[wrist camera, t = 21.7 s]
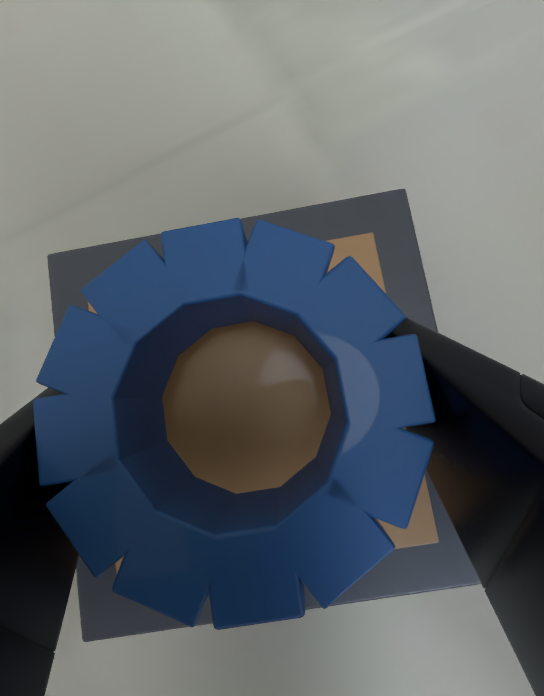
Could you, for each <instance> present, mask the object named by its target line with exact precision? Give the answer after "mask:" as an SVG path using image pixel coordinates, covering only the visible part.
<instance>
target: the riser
mask: <svg viewBox="0 0 544 696" xmlns="http://www.w3.org/2000/svg"><path fill="white" fill-rule="evenodd" d="M258 219H260V220H263V221H266V222H269V223H272V224H275V225H278V226H281V227H284V228H287V229H290V230H293V231H296V232H299V233H302V234H305V235H309V236H312V237H315V238H318V239H321V240H324V241H327V242H330V243H332V244H334V245H335V249H334V253H333V256H332V259H331V262H330V266H329V269H328V272H329V271H330V270H331V269H332V268H334V267H335V266H336V265H337V264H338V263H340V262H341V261H342V260H343V259H345V258H346V257H348V256H351V257H353V258H354V259H355V260H356V261H357V263H358V264H359V265H360V266H361V267H362V268H363V269H364V270H365V271H366V272H367V274H368V275H369V276H370V277H371V278H372V279H373V280H374V281H375V282H376V283H377V285H378V286H379V287H380V288H381V289H382V290H383V291H384V292H385V293H386V294H387V296H388V297H389V298H390V299H391V300H392V301H393V302H394V303H395V304H396V305H397V307H398V308H399V309H400V310H401V311H402V312H403V313H404V314H405V317H407V318H409V319H411V320H413V321H415V322H417V323H419V324H421V325H423V326H425V327H427V328H429V329H431V330H433V331H435V332H437V333H438V330H437V326H436V321H435V317H434V313H433V308H432V304H431V300H430V295H429V291H428V286H427V282H426V278H425V273H424V269H423V264H422V260H421V256H420V251H419V247H418V243H417V238H416V234H415V229H414V225H413V221H412V216H411V212H410V208H409V203H408V199H407V194H406V190H405V189H399V190H393V191H388V192H382V193H377V194H372V195H366V196H361V197H356V198H350V199H345V200H339V201H334V202H329V203H323V204H318V205H312V206H307V207H302V208H296V209H291V210H285V211H280V212H275V213H269V214H264V215H259V216H253V217H248V218H242V219H240V220H241V221H242V224H243V228H244V231H245V235H246V238H247V242H248V240H249V238H250V235H251V233H252V230H253V227H254V225H255V222H256V221H257V220H258ZM142 240H147V241H148V242H149V243H150V245H151V246H152V247H153V248H154V249H155V250H156V251H157V252H158V253H159V254H160V255H161V256H162V257H163V258H164V256H163V249H162V241H161V234H156V235H151V236H145V237H140V238H135V239H129V240H124V241H118V242H113V243H108V244H102V245H97V246H92V247H86V248H81V249H75V250H70V251H65V252H59V253H54V254H49V255H48V268H49V279H50V290H51V300H52V311H53V322H54V333H55V336H56V334H57V332H58V329H59V327H60V325H61V322H62V320H63V318H64V316H65V313H66V311H67V309H68V307H69V306H70V305H75V306H77V307H80V308H83V309H85V310H88V311H91V312H93V313H96V314H97V312H96V311H95V310H94V308H93V307H92V306H91V304H90V303H89V302H88V300H87V299H86V298H85V297H84V295H83V294H82V293H81V289H82V288H83V287H85V286H86V285H87V284H88V283H90V282H91V281H92V280H93V279H95V278H96V277H97V276H98V275H100V274H101V273H102V272H103V271H105V270H106V269H107V268H108V267H110V266H111V265H112V264H113V263H115V262H116V261H117V260H118V259H120V258H121V257H122V256H123V255H125V254H126V253H127V252H128V251H130V250H131V249H132V248H134V247H135V246H136V245H137V244H139V243H140V242H141V241H142ZM328 272H327V273H328ZM162 401H163V409H164V417H165V425H166V433H167V440H168V442H169V443H170V444H171V446H172V447H173V448H174V450H175V451H176V452H177V454H178V455H179V456H180V458H181V459H182V460H183V462H184V463H185V464H186V466H187V467H188V468H189V470H190V471H191V472H192V474H193V475H194V476H195V477H197V478H199V479H202V480H204V481H206V482H209V483H211V484H214V485H216V486H219V487H221V488H224V489H226V490H228V491H231V492H233V493H236V494H238V493H245V492H251V491H257V490H263V489H270V488H276V487H281V486H282V485H283V484H284V483H285V482H286V481H288V480H289V479H290V478H291V477H292V476H294V475H295V474H296V473H297V472H298V471H299V470H301V469H302V468H303V467H304V466H305V465H307V464H308V463H309V462H310V461H311V460H312V459H314V458H315V457H316V455H317V452H318V449H319V447H320V444H321V441H322V438H323V435H324V432H325V430H326V427H327V424H328V421H329V418H330V415H331V411H330V406H329V400H328V395H327V389H326V384H325V379H324V373H323V369H322V368H321V366H320V365H319V364H318V363H317V362H316V361H315V359H314V358H313V357H312V356H311V355H310V354H309V352H308V351H307V350H306V349H305V348H304V346H303V345H302V344H301V343H300V342H299V341H298V339H297V338H296V337H295V336H293V335H291V334H288V333H285V332H282V331H280V330H277V329H274V328H271V327H268V326H266V325H263V324H260V323H257V322H255V321H252V322H247V323H241V324H235V325H230V326H224V327H218V328H213V329H211V330H210V331H209V332H207V333H206V334H205V335H204V336H202V337H201V338H200V339H199V340H198V341H196V342H195V343H194V344H193V345H191V346H190V347H189V348H188V349H187V350H185V351H184V352H183V353H182V354H180V355H179V356H178V358H177V361H176V363H175V366H174V368H173V371H172V373H171V376H170V378H169V381H168V383H167V386H166V388H165V391H164V393H163V396H162ZM404 429H406V428H405V427H404ZM378 521H379V522H380V524H381V525H382V526H383V528H384V529H385V531H386V532H387V534H388V535H389V537H390V538H391V540H392V541H393V543H394V544H395V549H394V550H393V551H392V552H390V553H389V554H388V555H387V556H386V557H385V558H384V559H382V560H381V561H380V562H379V563H378V564H377V565H375V566H374V567H373V568H372V569H371V570H370V571H369V572H367V573H366V574H365V575H364V576H363V577H362V578H360V579H359V580H358V581H357V582H356V583H355V584H354V585H352V586H351V587H350V588H349V589H348V590H347V591H345V592H344V593H343V594H342V595H341V596H340V597H339V598H337V599H336V600H335V601H334V602H333V603H332V604H330V605H329V606H334V605H340V604H347V603H354V602H361V601H368V600H375V599H381V598H388V597H395V596H402V595H409V594H415V593H422V592H429V591H436V590H443V589H450V588H456V587H463V586H470V585H477V584H481V582H480V580H479V577H478V575H477V573H476V571H475V569H474V567H473V565H472V563H471V561H470V559H469V557H468V555H467V553H466V551H465V549H464V547H463V545H462V543H461V541H460V538H459V536H458V534H457V532H456V530H455V528H454V526H453V524H452V522H451V520H450V518H449V516H448V514H447V512H446V510H445V508H444V506H443V504H442V502H441V499H440V497H439V495H438V493H437V491H436V489H435V487H434V485H433V483H432V481H431V479H430V477H429V475H428V473H427V471H425V474H424V477H423V480H422V484H421V487H420V490H419V493H418V496H417V499H416V502H415V505H414V509H413V512H412V515H411V518H410V521H409V524H408V527H407V528H406V529H401V528H399V527H396V526H394V525H391V524H389V523H386V522H384V521H381V520H379V519H378ZM123 558H124V556H123V557H122V558H121V559H120V560H119V561H117V562H116V563H115V564H114V565H113V566H111V567H110V568H109V569H108V570H107V571H105V572H104V573H103V574H102V575H101V576H99V577H97V578H95V577H94V576H93V575H92V573H91V572H90V570H89V569H88V567H87V566H86V564H85V563H84V561H83V560H82V558H81V557H80V555H79V557H78V561H77V565H76V573H77V584H78V595H79V606H80V617H81V628H82V639H83V641H84V642H88V641H95V640H102V639H109V638H116V637H122V636H129V635H136V634H143V633H150V632H156V631H163V630H170V629H177V628H184V627H189V626H187V625H185V624H183V623H180V622H178V621H176V620H174V619H172V618H169V617H167V616H165V615H163V614H161V613H158V612H156V611H154V610H152V609H150V608H147V607H145V606H143V605H141V604H139V603H136V602H134V601H132V600H130V599H127V598H125V597H123V596H121V595H119V594H116V593H114V592H113V591H112V586H113V583H114V580H115V578H116V575H117V573H118V570H119V568H120V565H121V563H122V560H123ZM304 591H305V605H306V609H313V608H320V607H321V605H320V604H319V603H318V601H317V600H316V599H315V597H314V596H313V595H312V594H311V592H310V591H309V590H308V588H307V587H306V586H305V584H304ZM211 623H213V621H212V614H211V606H210V599H209V595H208V597H207V600H206V602H205V605H204V607H203V610H202V612H201V615H200V617H199V619H198V622H197V624H196V625H195V626H197V625H204V624H211Z"/></svg>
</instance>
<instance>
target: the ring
mask: <svg viewBox="0 0 544 696" xmlns="http://www.w3.org/2000/svg"><path fill="white" fill-rule="evenodd" d="M161 241H162V249H163V256H164V258H163V257H162V256H161V255H160V254H159V253H158V252H157V251H156V250H155V249H154V248H153V247H152V246H151V245H150V243H149V242H148V241H147V240H142V241H141V242H140V243H139V244H137V245H136V246H135V247H134V248H132V249H131V250H130V251H128V252H127V253H126V254H125V255H123V256H122V257H121V258H120V259H118V260H117V261H116V262H115V263H113V264H112V265H111V266H110V267H108V268H107V269H106V270H105V271H103V272H102V273H101V274H100V275H98V276H97V277H96V278H95V279H93V280H92V281H91V282H90V283H88V284H87V285H86V286H85V287H83V288H82V289H81V293H82V294H83V295H84V297H85V298H86V299H87V300H88V302H89V303H90V304H91V306H92V307H93V308H94V310H95V311H96V312H97V314H96V313H93V312H91V311H88V310H85V309H83V308H80V307H77V306H75V305H70V306H69V307H68V309H67V311H66V313H65V316H64V318H63V320H62V322H61V325H60V327H59V329H58V332H57V334H56V336H55V338H54V341H53V343H52V345H51V348H50V350H49V352H48V354H47V357H46V359H45V361H44V364H43V366H42V368H41V370H40V373H39V375H38V377H37V380H36V381H37V382H38V383H39V384H41V385H44V386H46V387H49V388H51V389H54V390H56V391H59V392H61V393H64V394H60V395H54V396H48V397H42V398H37V399H35V400H34V401H33V411H34V424H35V436H36V449H37V462H38V474H39V484H40V486H49V485H56V484H62V483H68V482H71V483H70V484H69V485H68V486H66V487H65V488H64V489H63V490H62V491H60V492H59V493H58V494H57V495H56V496H54V497H53V498H52V499H51V500H49V501H48V502H47V504H46V507H47V508H48V510H49V511H50V513H51V514H52V516H53V517H54V519H55V520H56V521H57V523H58V524H59V526H60V527H61V529H62V530H63V532H64V533H65V535H66V536H67V538H68V539H69V541H70V542H71V544H72V545H73V547H74V548H75V549H76V551H77V552H78V554H79V555H80V557H81V558H82V560H83V561H84V563H85V564H86V566H87V567H88V569H89V570H90V572H91V573H92V575H93V576H94V577H95V578H97V577H99V576H101V575H102V574H103V573H104V572H105V571H107V570H108V569H109V568H110V567H111V566H113V565H114V564H115V563H116V562H117V561H119V560H120V559H121V558H122V557H123V556H124V558H123V560H122V563H121V565H120V568H119V570H118V573H117V575H116V578H115V580H114V583H113V586H112V591H113V592H114V593H116V594H119V595H121V596H123V597H125V598H127V599H130V600H132V601H134V602H136V603H139V604H141V605H143V606H145V607H147V608H150V609H152V610H154V611H156V612H158V613H161V614H163V615H165V616H167V617H169V618H172V619H174V620H176V621H178V622H180V623H183V624H185V625H187V626H189V627H194V626H195V625H196V624H197V622H198V619H199V617H200V615H201V612H202V610H203V607H204V605H205V602H206V600H207V597H208V595H209V599H210V606H211V614H212V621H213V626H214V628H215V629H217V630H220V629H227V628H234V627H240V626H247V625H254V624H261V623H267V622H274V621H281V620H288V619H295V618H301V617H303V616H304V615H305V611H306V605H305V591H304V584H305V586H306V587H307V588H308V590H309V591H310V592H311V594H312V595H313V596H314V597H315V599H316V600H317V601H318V603H319V604H320V605H321V607H322V608H324V609H325V608H327V607H328V606H329V605H330V604H332V603H333V602H334V601H335V600H336V599H337V598H339V597H340V596H341V595H342V594H343V593H344V592H345V591H347V590H348V589H349V588H350V587H351V586H352V585H354V584H355V583H356V582H357V581H358V580H359V579H360V578H362V577H363V576H364V575H365V574H366V573H367V572H369V571H370V570H371V569H372V568H373V567H374V566H375V565H377V564H378V563H379V562H380V561H381V560H382V559H384V558H385V557H386V556H387V555H388V554H389V553H390V552H392V551H393V550H394V549H395V544H394V543H393V541H392V540H391V538H390V537H389V535H388V534H387V532H386V531H385V529H384V528H383V526H382V525H381V524H380V522H379V521H378V519H379V520H381V521H384V522H386V523H389V524H391V525H394V526H396V527H399V528H401V529H406V528H407V527H408V524H409V521H410V518H411V515H412V512H413V509H414V505H415V502H416V499H417V496H418V493H419V490H420V487H421V484H422V480H423V477H424V474H425V471H426V468H427V465H428V462H429V459H430V455H431V452H432V449H433V446H434V441H433V440H432V439H430V438H428V437H425V436H422V435H420V434H417V433H414V432H412V431H409V430H406V429H404V427H411V426H417V425H423V424H429V423H433V422H435V420H436V418H435V414H434V409H433V405H432V400H431V396H430V391H429V387H428V382H427V378H426V373H425V369H424V364H423V360H422V355H421V351H420V346H419V342H418V337H417V335H416V334H409V335H403V336H397V337H391V338H385V337H386V336H387V335H388V334H390V333H391V332H392V331H393V330H394V329H396V328H397V327H398V326H399V325H400V324H402V323H403V322H404V320H405V318H406V317H405V314H404V313H403V312H402V311H401V310H400V309H399V308H398V307H397V305H396V304H395V303H394V302H393V301H392V300H391V299H390V298H389V297H388V296H387V294H386V293H385V292H384V291H383V290H382V289H381V288H380V287H379V286H378V285H377V283H376V282H375V281H374V280H373V279H372V278H371V277H370V276H369V275H368V274H367V272H366V271H365V270H364V269H363V268H362V267H361V266H360V265H359V264H358V263H357V261H356V260H355V259H354V258H353V257H351V256H348V257H346V258H345V259H343V260H342V261H341V262H340V263H338V264H337V265H336V266H335V267H334V268H332V269H331V270H330V271H329V272H328V269H329V266H330V262H331V259H332V256H333V253H334V249H335V245H334V244H332V243H330V242H327V241H324V240H321V239H318V238H315V237H312V236H309V235H305V234H302V233H299V232H296V231H293V230H290V229H287V228H284V227H281V226H278V225H275V224H272V223H269V222H266V221H263V220H260V219H258V220H257V221H256V222H255V225H254V227H253V230H252V233H251V235H250V238H249V240H248V242H247V238H246V235H245V231H244V228H243V224H242V221H241V220H240V219H239V218H234V219H229V220H224V221H218V222H213V223H208V224H202V225H197V226H191V227H186V228H181V229H175V230H170V231H164V232H162V233H161ZM327 272H328V273H327ZM252 321H255V322H257V323H260V324H263V325H266V326H268V327H271V328H274V329H277V330H280V331H282V332H285V333H288V334H291V335H293V336H295V337H296V338H297V339H298V341H299V342H300V343H301V344H302V345H303V346H304V348H305V349H306V350H307V351H308V352H309V354H310V355H311V356H312V357H313V358H314V359H315V361H316V362H317V363H318V364H319V365H320V366H321V368H322V369H323V373H324V379H325V384H326V389H327V395H328V400H329V406H330V411H331V415H330V418H329V421H328V424H327V427H326V430H325V432H324V435H323V438H322V441H321V444H320V447H319V449H318V452H317V455H316V457H315V458H314V459H312V460H311V461H310V462H309V463H308V464H307V465H305V466H304V467H303V468H302V469H301V470H299V471H298V472H297V473H296V474H295V475H294V476H292V477H291V478H290V479H289V480H288V481H286V482H285V483H284V484H283V485H282V486H281V487H276V488H270V489H263V490H257V491H251V492H245V493H238V494H236V493H233V492H231V491H228V490H226V489H224V488H221V487H219V486H216V485H214V484H211V483H209V482H206V481H204V480H202V479H199V478H197V477H195V476H194V475H193V474H192V472H191V471H190V470H189V468H188V467H187V466H186V464H185V463H184V462H183V460H182V459H181V458H180V456H179V455H178V454H177V452H176V451H175V450H174V448H173V447H172V446H171V444H170V443H169V442H168V440H167V433H166V425H165V417H164V409H163V401H162V396H163V393H164V391H165V388H166V386H167V383H168V381H169V378H170V376H171V373H172V371H173V368H174V366H175V363H176V361H177V358H178V356H179V355H180V354H182V353H183V352H184V351H185V350H187V349H188V348H189V347H190V346H191V345H193V344H194V343H195V342H196V341H198V340H199V339H200V338H201V337H202V336H204V335H205V334H206V333H207V332H209V331H210V330H211V329H213V328H218V327H224V326H230V325H235V324H241V323H247V322H252ZM384 338H385V339H384Z"/></svg>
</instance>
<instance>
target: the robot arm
mask: <svg viewBox="0 0 544 696" xmlns="http://www.w3.org/2000/svg"><path fill="white" fill-rule="evenodd" d="M409 334H416V335H417V337H418V342H419V346H420V351H421V355H422V360H423V364H424V369H425V373H426V378H427V382H428V387H429V391H430V396H431V400H432V405H433V409H434V414H435V418H436V420H435V422H433V423H429V424H423V425H417V426H411V427H405V428H406V430H409V431H412V432H414V433H417V434H420V435H422V436H425V437H428V438H430V439H432V440H433V441H434V446H433V449H432V452H431V455H430V459H429V462H428V465H427V468H426V471H427V473H428V475H429V477H430V479H431V481H432V483H433V485H434V487H435V489H436V491H437V493H438V495H439V497H440V499H441V502H442V504H443V506H444V508H445V510H446V512H447V514H448V516H449V518H450V520H451V522H452V524H453V526H454V528H455V530H456V532H457V534H458V536H459V538H460V541H461V543H462V545H463V547H464V549H465V551H466V553H467V555H468V557H469V559H470V561H471V563H472V565H473V567H474V569H475V571H476V573H477V575H478V577H479V580H480V582H481V584H482V586H483V587H484V588H486V589H485V592H486V594H487V596H488V598H489V601H490V603H491V605H492V607H493V609H494V611H495V613H496V615H497V617H498V619H499V621H500V623H501V625H502V627H503V629H504V631H505V633H506V635H507V638H508V640H509V642H510V644H511V646H512V648H513V650H514V652H515V654H516V656H517V658H518V660H519V662H520V664H521V666H522V668H523V670H524V672H525V675H526V677H527V679H528V681H529V683H530V685H531V687H532V689H533V691H534V693H535V695H536V696H544V384H542V383H540V382H538V381H536V380H534V379H532V378H530V377H528V376H526V375H524V374H522V375H520V373H519V372H517V371H515V370H513V369H511V368H509V367H507V366H505V365H503V364H501V363H499V362H497V361H495V360H493V359H491V358H489V357H487V356H485V355H483V354H480V353H478V352H476V351H474V350H472V349H470V348H468V347H466V346H464V345H462V344H460V343H458V342H456V341H454V340H452V339H450V338H448V337H446V336H444V335H442V334H439V333H437V332H435V331H433V330H431V329H429V328H427V327H425V326H423V325H421V324H419V323H417V322H415V321H413V320H411V319H409V318H407V317H406V318H405V320H404V322H403V323H402V324H400V325H399V326H398V327H397V328H396V329H394V330H393V331H392V332H391V333H390V334H388V335H387V336H386V337H385V338H391V337H397V336H403V335H409ZM385 338H384V339H385ZM60 394H64V393H61V392H59V391H56V390H54V389H51V388H47V389H46V390H45V391H43V392H42V393H41V394H39V395H38V396H37V397H35V398H34V399H33V400H32V401H30V402H29V403H28V404H26V405H25V406H24V407H22V408H21V409H20V410H18V411H17V412H16V413H14V414H13V415H12V416H11V417H9V418H8V419H7V420H5V421H4V422H3V423H1V424H0V696H44V695H45V691H46V687H47V683H48V679H49V675H50V671H51V667H52V663H53V659H54V655H55V653H54V651H55V650H56V646H57V642H58V638H59V634H60V630H61V626H62V622H63V618H64V614H65V610H66V606H67V601H68V597H69V593H70V589H71V585H72V581H73V577H74V573H75V569H76V565H77V561H78V557H79V554H78V552H77V551H76V549H75V548H74V547H73V545H72V544H71V542H70V541H69V539H68V538H67V536H66V535H65V533H64V532H63V530H62V529H61V527H60V526H59V524H58V523H57V521H56V520H55V519H54V517H53V516H52V514H51V513H50V511H49V510H48V508H47V507H46V504H47V502H48V501H49V500H51V499H52V498H53V497H54V496H56V495H57V494H58V493H59V492H60V491H62V490H63V489H64V488H65V487H66V486H68V485H69V484H70V483H71V482H68V483H62V484H56V485H49V486H40V484H39V474H38V462H37V449H36V436H35V424H34V411H33V401H34V400H35V399H37V398H42V397H48V396H54V395H60Z"/></svg>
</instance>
